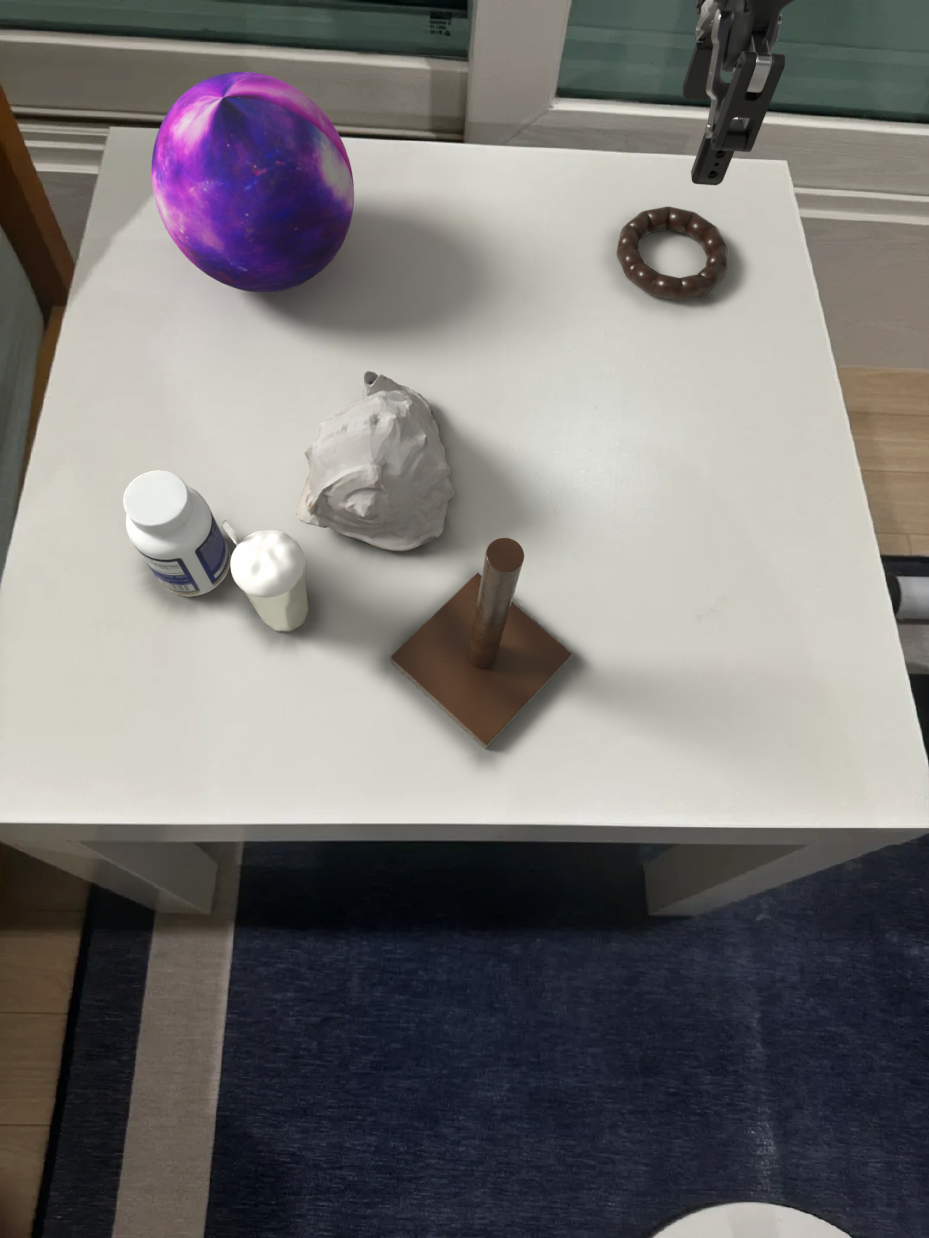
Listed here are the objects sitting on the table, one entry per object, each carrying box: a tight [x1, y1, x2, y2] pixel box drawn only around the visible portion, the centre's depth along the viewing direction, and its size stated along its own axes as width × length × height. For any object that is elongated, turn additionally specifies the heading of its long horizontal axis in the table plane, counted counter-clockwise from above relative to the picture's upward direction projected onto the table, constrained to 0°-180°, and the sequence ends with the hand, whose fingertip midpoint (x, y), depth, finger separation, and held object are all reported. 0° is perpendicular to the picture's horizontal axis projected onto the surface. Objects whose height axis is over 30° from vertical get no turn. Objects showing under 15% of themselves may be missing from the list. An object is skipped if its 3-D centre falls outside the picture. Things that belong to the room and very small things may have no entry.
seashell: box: [295, 370, 455, 552], centre depth 61 cm, size 12×14×10 cm
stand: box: [389, 537, 573, 750], centre depth 52 cm, size 9×9×17 cm
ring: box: [616, 206, 730, 302], centre depth 74 cm, size 10×10×2 cm
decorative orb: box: [151, 71, 355, 293], centre depth 65 cm, size 15×15×15 cm
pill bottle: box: [122, 469, 231, 597], centre depth 57 cm, size 5×5×10 cm
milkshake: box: [220, 519, 309, 632], centre depth 56 cm, size 4×5×10 cm
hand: (700, 137), depth 62 cm, fingers open, 8 cm apart
